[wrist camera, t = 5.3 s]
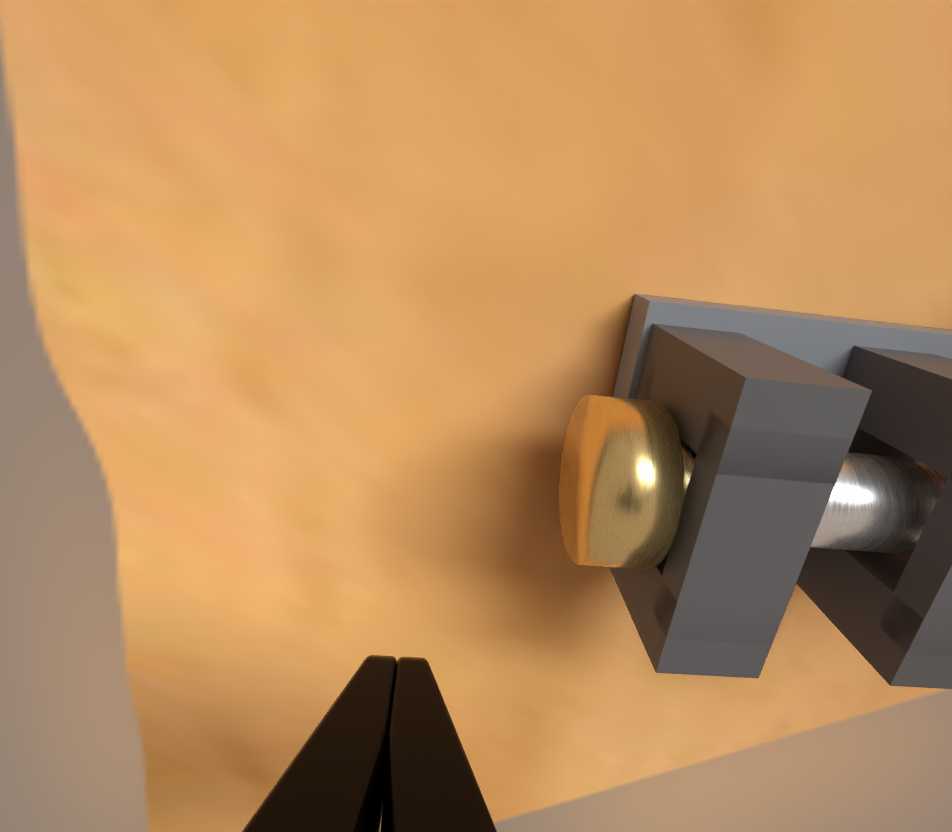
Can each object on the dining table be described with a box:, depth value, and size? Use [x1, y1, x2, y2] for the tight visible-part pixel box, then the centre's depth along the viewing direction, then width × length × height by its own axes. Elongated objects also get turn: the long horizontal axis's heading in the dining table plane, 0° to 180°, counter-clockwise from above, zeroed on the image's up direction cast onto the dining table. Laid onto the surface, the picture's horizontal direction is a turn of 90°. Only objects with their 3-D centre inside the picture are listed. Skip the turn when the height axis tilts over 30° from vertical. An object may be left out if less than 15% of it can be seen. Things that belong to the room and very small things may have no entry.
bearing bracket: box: [610, 294, 952, 689], centre depth 17 cm, size 12×10×8 cm
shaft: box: [559, 395, 948, 570], centre depth 17 cm, size 15×5×5 cm, turn 83°
